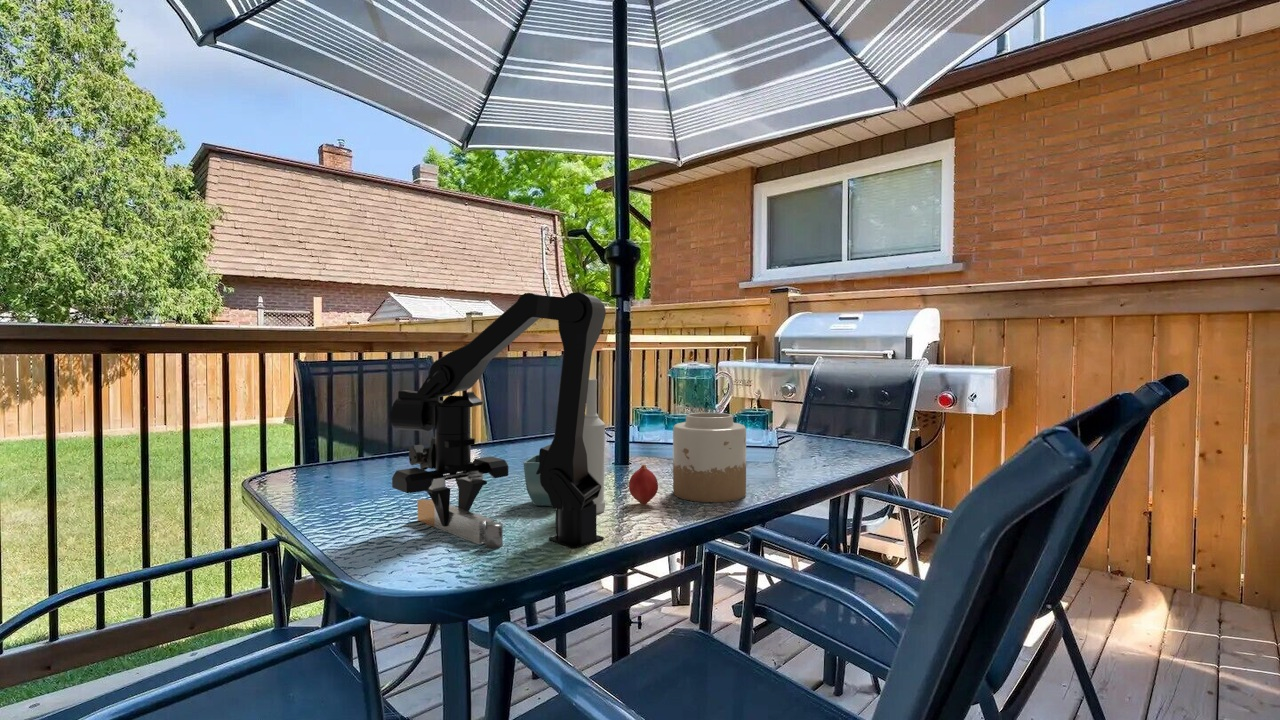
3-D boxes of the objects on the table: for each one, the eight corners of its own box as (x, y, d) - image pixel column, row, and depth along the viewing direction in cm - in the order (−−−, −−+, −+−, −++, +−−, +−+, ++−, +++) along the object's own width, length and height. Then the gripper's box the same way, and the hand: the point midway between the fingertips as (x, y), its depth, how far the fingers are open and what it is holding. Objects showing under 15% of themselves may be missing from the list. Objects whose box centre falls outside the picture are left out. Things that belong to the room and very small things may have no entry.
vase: (708, 482, 142) (708, 409, 141) (761, 494, 130) (761, 415, 130) (658, 492, 132) (658, 414, 132) (710, 507, 120) (710, 421, 120)
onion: (624, 502, 124) (624, 462, 124) (651, 499, 126) (651, 460, 126) (634, 509, 118) (634, 468, 118) (662, 506, 121) (662, 465, 120)
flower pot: (577, 498, 127) (576, 455, 127) (567, 510, 118) (567, 463, 118) (535, 497, 128) (534, 454, 128) (522, 508, 119) (522, 462, 119)
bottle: (594, 515, 114) (594, 380, 114) (572, 511, 117) (572, 379, 116) (610, 509, 119) (610, 378, 118) (589, 505, 121) (588, 378, 121)
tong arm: (486, 543, 98) (486, 520, 98) (479, 544, 97) (479, 522, 97) (424, 518, 111) (423, 498, 111) (417, 520, 111) (417, 500, 110)
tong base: (506, 547, 97) (506, 524, 96) (491, 551, 95) (491, 528, 95) (433, 518, 113) (432, 498, 113) (419, 521, 111) (419, 501, 111)
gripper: (476, 422, 117) (476, 504, 117) (377, 432, 103) (377, 525, 104) (510, 428, 109) (510, 516, 110) (408, 440, 96) (408, 540, 96)
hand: (453, 524), depth 105 cm, fingers open, 3 cm apart
